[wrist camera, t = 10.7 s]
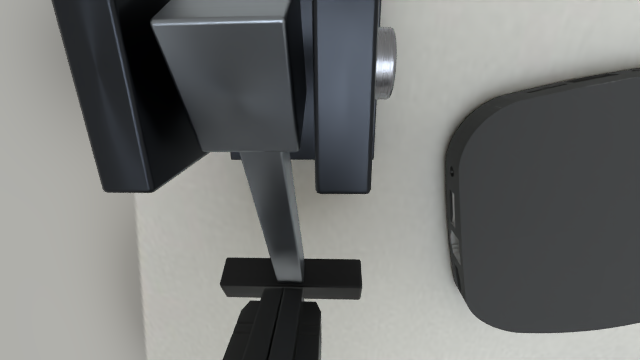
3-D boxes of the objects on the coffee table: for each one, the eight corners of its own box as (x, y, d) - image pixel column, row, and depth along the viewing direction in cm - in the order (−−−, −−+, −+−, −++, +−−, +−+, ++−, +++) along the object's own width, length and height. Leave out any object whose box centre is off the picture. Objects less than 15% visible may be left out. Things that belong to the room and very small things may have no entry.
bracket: (371, 153, 19) (437, 320, 7) (237, 154, 19) (68, 311, 7) (380, -49, 15) (556, -480, 3) (215, -44, 15) (-197, -411, 3)
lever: (358, 262, 15) (361, 313, 14) (235, 260, 15) (223, 309, 14) (392, -31, 6) (412, 14, 5) (104, -23, 7) (29, 23, 5)
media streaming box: (681, 284, 21) (736, 319, 18) (452, 312, 22) (469, 348, 19) (734, 46, 16) (821, 43, 13) (437, 104, 17) (456, 112, 15)
